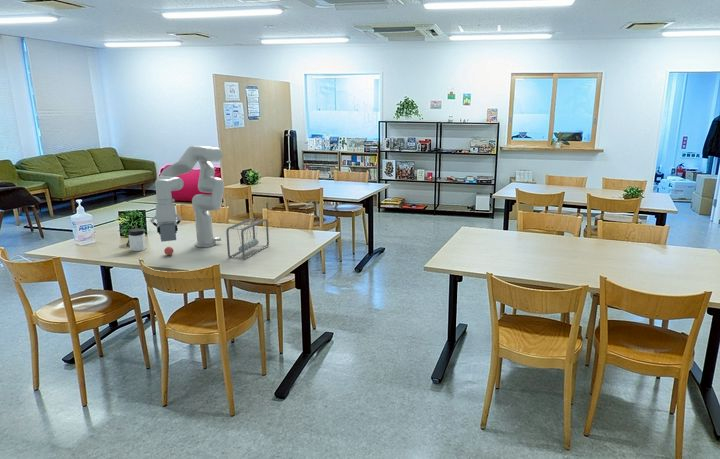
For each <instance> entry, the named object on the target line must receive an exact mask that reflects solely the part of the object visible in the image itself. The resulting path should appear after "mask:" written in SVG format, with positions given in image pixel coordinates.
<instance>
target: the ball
mask: <svg viewBox="0 0 720 459" xmlns="http://www.w3.org/2000/svg"><path fill="white" fill-rule="evenodd" d="M163 252H164V254H165V255H166V256H172V255H173V254H174V248H173V247H171V246H166V247H165V248H164V250H163Z"/></svg>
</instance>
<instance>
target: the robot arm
mask: <svg viewBox="0 0 720 459" xmlns="http://www.w3.org/2000/svg"><path fill="white" fill-rule="evenodd" d="M223 155H224V154H223V151H222V149H221V148H220V147H212V146H207V145H190V146H189V147H188V148H187V149H186V150H185V152H184V153H183V155H182V156H181V157H180V158H179V160H178V161H176V162H175V163H172V164H171V165H169V166H168V167H167V168H166V167H165V169H164V170H163V171H162V172H161V173H160V175H159V176H158V178H157V179H156V180H155V183H154V184H155V193H156V202H157V203H156V204H155V216H153V217H152V218H151V219H149V221H150V223H151V224H152V225H154V226H155V227H156V233H157V234H159V236H160V227H159V225H160V223H167V222H173V223H175V231H176V234H177V233H178V232H179V231H178V230H179V229H178V226H179V224H180V223H181V222H182V220H183V217H182V216H181V215H180V214H177V213H176V207H175V204H174V202H175V201H176V200H175V198H173V197H172V192H176V191H180V190H182V189H183V187H184V185H185V184H184V183H185V182H184V180H183V178H181V177H178V176H181V175H185V174H187V173H189V172H191V171H192V170H193V168H194V167H195V166H196V164H197V163H198V164H199V166H200V167H199V168H200V171H199V176H198V182H197V189H198V191H199V192H201V193H199V194H195V195H193V197H192V199H191V202H192V208H193V212H194V217H195V219H194V220H195V232H196V241H195V243H194V246H195V248H196V247H197V248H208V247H209V248H210V247H213V246H215V245H217V242H220V241H222V238H221V237H215V236H214V234H213V222H212V220H213V219H212V214H211V212H210V211H212V212H216V211H218V210H220V209H221V207H222V202H223V198H224V193H225V192H224V191H225V183H224V181H223V179H222V178H220V177H215V171H216V170H215V167H214V165H213V162H214V163H215V162H216V163H217V162H220V161H221V160H222V159H223ZM204 193H205V194H204ZM207 193H209V194H207ZM177 218H178V220H177ZM155 220H156V222H155Z"/></svg>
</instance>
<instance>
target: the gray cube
mask: <svg viewBox="0 0 720 459" xmlns="http://www.w3.org/2000/svg"><path fill="white" fill-rule="evenodd" d="M159 227H160V235H159V236H160V242H170V241H171V242H172V241H177V233H176V231H175V223H173V222H167V223H160V225H159Z"/></svg>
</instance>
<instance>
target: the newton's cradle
mask: <svg viewBox="0 0 720 459" xmlns="http://www.w3.org/2000/svg"><path fill="white" fill-rule="evenodd" d="M263 222H265V226H266V227H265V229H266V232H265V233H266V245H263V246H262V247H261V248H259V249H258V250H256V251H253V252H252V253H250V254H248V255H247V256H245V255H246V254H245V251H248V250H249V249H252V248H254V247H255V245H259V240H258V239H257V238H256V236H257V234H258V233H257V232H256V230H255V226H256V228H259V227H258V225H259V224H261V223H263ZM249 223H250V224H249ZM241 226H244V227H241ZM239 227H240V228H239ZM250 229H251V230H252V232H251V230H250ZM229 230H237V232H238V235H240V234H241V235H240V236H238V237H239V239H240V240H241V241H239V242H240V244H241V245H240V246H239V247H238V251H236V252H235V253H233V254H231V250H230V237H229V233H230V232H229ZM239 230H241V231H240V232H239ZM248 231H249V234H250V236H249V237H251V236H252V238H250V239H249V238H248V237H246V240H245V238H244V233H245V234H246V236H248ZM251 233H252V235H251ZM225 234H226V244H227V245H226V246H227V257H228V258H229V257H231V258H233V257H235V256H237V255H239V254H241V253H242V257H241V258H240V259H243V260H246V259H245V258H247V257H248V256H250V255H252V254H254V253H255V252H257V251H259V250H261V249H262V248H264V247H266V246H268V247H269V245H270V240H269V239H270V238H269V237H270V236H269V221H268V219H267V218H258V220H256V221H255V218H254V217H249V218H247V219H245V220H243V221H241V222H239V223H236V224H233V225H231V226H229V227H227V228H226V233H225ZM240 237H241V238H240ZM266 248H267V247H266ZM261 251H262V250H261ZM240 252H241V253H240ZM259 252H260V251H259ZM238 253H239V254H238ZM236 254H237V255H236ZM234 255H235V256H234ZM254 255H255V254H254ZM232 256H233V257H232ZM252 256H253V255H252ZM250 257H251V256H250ZM247 259H248V258H247Z"/></svg>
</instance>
